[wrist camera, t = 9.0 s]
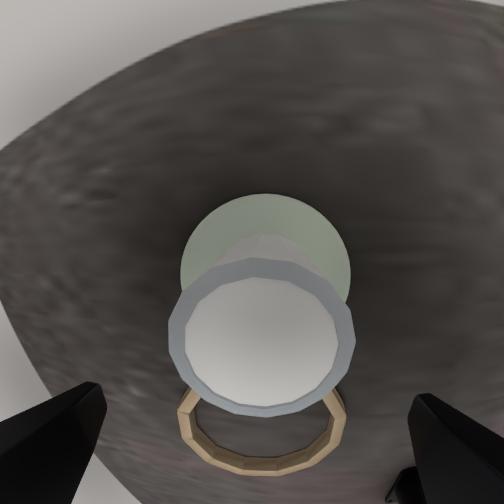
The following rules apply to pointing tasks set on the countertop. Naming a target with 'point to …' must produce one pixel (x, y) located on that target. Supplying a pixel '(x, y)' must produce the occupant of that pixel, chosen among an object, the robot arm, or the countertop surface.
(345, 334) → the shot glass
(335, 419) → the collar
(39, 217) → the countertop surface
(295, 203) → the pale green round disc
